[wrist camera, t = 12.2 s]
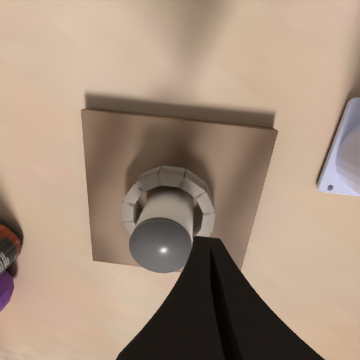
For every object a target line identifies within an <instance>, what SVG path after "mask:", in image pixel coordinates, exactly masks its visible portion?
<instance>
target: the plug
mask: <svg viewBox="0 0 360 360" xmlns="http://www.w3.org/2000/svg"><path fill="white" fill-rule="evenodd" d="M193 213H194V203H193V200H192V197H191V196H190V194H189V193H187V192H186V191H184V190H183V189H182V188H180V187H171V186H160V187H158V188H156V189H155V190H154V191H153V192H152V193H151V194H150V196H149V198H148V200H147V202H146V204H145V207H144V209H143V211H142V213H141V215H140V217H139V220H138V222H137V224H136V226H135V228H134V230H133V233H132V235H131V237H130V240H129V250H130V253H131V255H132V257H133V259H134V260H135V261H136V262H137V263H138V264H139V265H140V266H142V267H144V268H145V269H147V270H150V271H153V272H158V273H169V272H174V271H177V270H179V269H181V268H182V267H184V266H185V265H186V262H187V260H188V257H189V255H190V252H191V249H192V233H193Z"/></svg>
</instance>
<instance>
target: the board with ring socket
mask: <svg viewBox="0 0 360 360" xmlns="http://www.w3.org/2000/svg"><path fill="white" fill-rule="evenodd" d="M81 116H82V129H83V141H84V154H85V167H86V179H87V192H88V204H89V217H90V229H91V242H92V255H93V261H100V262H107V263H115V264H123V265H130V266H138V267H142V266H140V265H139V264H138V263H137V262H136V261H135V260H134V259H133V257H132V255H131V253H130V250H129V240H130V237H131V235H132V233H133V230H134V228H135V226H136V224H137V222H138V220H139V217H140V215H141V213H142V211H143V209H144V207H145V204H146V202H147V200H148V198H149V196H150V194H151V193H152V192H153V191H154V190H155V189H156V188H158V187H160V186H171V187H180V188H182V189H183V190H184V191H186V192H187V193H189V194H190V196H191V197H192V200H193V203H194V213H193V233H192V243H193V237H195V236H203V237H212V238H220V239H221V240H222V242H223V244H224V245H225V247H226V249H227V251H228V252H229V254H230V256H231V257H232V259H233V260H234V262H235V264H236V265H237V267H238V268H239V270H240V271H241V268H242V264H243V260H244V256H245V253H246V249H247V245H248V241H249V238H250V234H251V230H252V226H253V223H254V219H255V215H256V212H257V208H258V204H259V200H260V197H261V193H262V189H263V185H264V182H265V178H266V174H267V170H268V167H269V163H270V159H271V156H272V152H273V148H274V144H275V141H276V137H277V133H278V130H276V129H274V128H266V127H256V126H247V125H238V124H229V123H219V122H210V121H201V120H191V119H182V118H173V117H163V116H154V115H145V114H136V113H126V112H117V111H108V110H98V109H89V108H87V109H81ZM184 267H185V266H184ZM184 267H182V268H181V269H179V270H177V271H175V272H182V271H183V269H184Z"/></svg>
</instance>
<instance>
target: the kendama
mask: <svg viewBox="0 0 360 360" xmlns="http://www.w3.org/2000/svg"><path fill="white" fill-rule="evenodd" d="M13 289H14V283H13V278H12V277H11V275H10V274H9V273H8V272H7V271H6V270H5V271H3V273H2V274H1V275H0V311H1V310H2V309H3V308H4V307H5V306H6V305H7V303H8V302H9V301H10V298H11V295H12V293H13Z"/></svg>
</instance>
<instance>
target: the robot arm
mask: <svg viewBox="0 0 360 360" xmlns="http://www.w3.org/2000/svg"><path fill="white" fill-rule="evenodd" d="M329 185H331V187H330V188H328V189H327V187H328V186H329ZM317 189H318V190H319V191H321V192H327V193H336V194H344V195H353V196H360V97H355V98H352V99H350V100H349V101H348V103H347V106H346V108H345V111H344V114H343V116H342V119H341V122H340V124H339V127H338V130H337V132H336V135H335V138H334V140H333V143H332V146H331V149H330V151H329V154H328V157H327V159H326V162H325V165H324V167H323V170H322V173H321V175H320V178H319V181H318V183H317ZM116 360H325V359H323V358H322V357H321V356H320V355H319V354H317V353H316V352H315V351H314V350H313V349H312V348H311V347H309V346H308V345H307V344H306V343H305V342H304V341H303V340H302V339H300V338H299V337H298V336H297V335H296V334H295V333H294V332H293V331H292V330H291V329H290V328H289V327H288V326H287V325H286V324H285V323H284V322H283V321H282V320H281V319H280V318H279V317H278V316H277V315H276V314H275V313H274V312H273V311H272V310H271V309H270V308H269V307H268V306H267V304H266V303H265V302H264V301H263V300H262V299H261V297H260V296H259V295H258V294H257V293H256V291H255V290H254V289H253V288H252V286H251V285H250V284H249V282H248V281H247V280H246V278H245V277H244V275H243V274H242V273H241V271H240V270H239V268H238V267H237V265H236V264H235V262H234V260H233V259H232V257H231V256H230V254H229V252H228V251H227V249H226V247H225V245H224V244H223V242H222V240H221V239H220V238H212V237H203V236H195V237H193V243H192V249H191V252H190V255H189V257H188V260H187V262H186V265H185V267H184V269H183V271H182V273H181V275H180V277H179V278H178V280H177V282H176V284H175V285H174V287H173V289H172V290H171V292H170V293H169V295H168V296H167V298H166V299H165V301H164V302H163V304H162V305H161V306H160V308H159V309H158V310H157V312H156V313H155V314H154V315H153V317H152V318H151V319H150V320H149V321H148V323H147V324H146V325H145V326H144V328H143V329H142V330H141V331H140V332H139V333H138V334H137V335H136V336H135V338H134V339H133V340H132V341H131V342H130V343H129V344H128V345H127V346H126V347H125V348H124V349H123V350H122V351H121V352H120V353H119V355H118V357H117V359H116Z"/></svg>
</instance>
